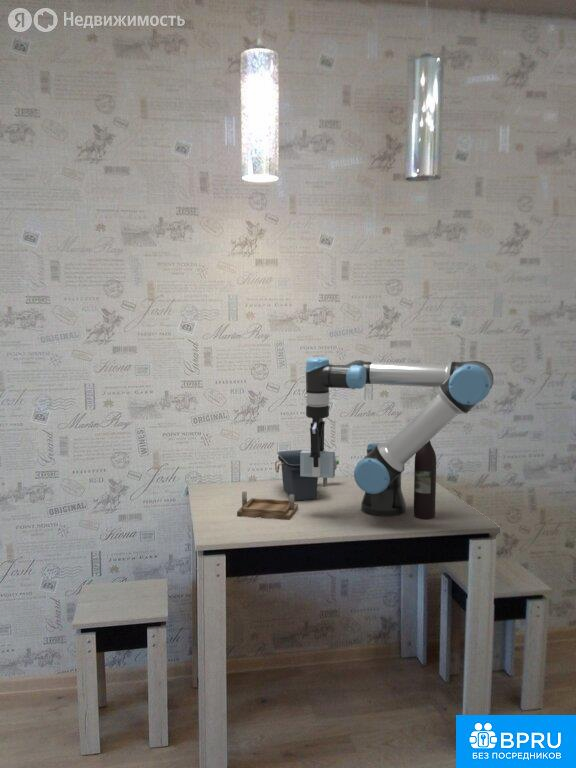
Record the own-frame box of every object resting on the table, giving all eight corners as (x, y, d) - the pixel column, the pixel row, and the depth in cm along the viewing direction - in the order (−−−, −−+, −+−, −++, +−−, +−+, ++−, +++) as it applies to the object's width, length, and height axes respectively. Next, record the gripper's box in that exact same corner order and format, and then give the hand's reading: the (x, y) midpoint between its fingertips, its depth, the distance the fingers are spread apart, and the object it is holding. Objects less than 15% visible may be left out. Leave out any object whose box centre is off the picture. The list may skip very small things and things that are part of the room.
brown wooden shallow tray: (298, 508, 259) (298, 490, 259) (289, 519, 247) (289, 500, 246) (247, 505, 264) (247, 487, 263) (236, 516, 251) (236, 497, 250)
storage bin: (325, 501, 268) (325, 462, 266) (283, 504, 264) (283, 464, 262) (309, 485, 288) (309, 449, 287) (269, 488, 285) (269, 451, 283)
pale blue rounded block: (334, 475, 250) (334, 451, 249) (332, 478, 247) (333, 454, 246) (302, 473, 253) (302, 450, 251) (300, 476, 249) (300, 452, 248)
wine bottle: (409, 514, 252) (411, 426, 248) (427, 512, 255) (429, 425, 251) (420, 520, 246) (422, 430, 242) (439, 518, 248) (441, 428, 244)
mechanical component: (311, 485, 289) (311, 460, 287) (337, 484, 290) (337, 458, 289) (312, 487, 286) (312, 461, 284) (339, 486, 288) (339, 460, 286)
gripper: (311, 400, 255) (311, 468, 258) (300, 408, 239) (301, 480, 242) (333, 401, 254) (333, 469, 257) (324, 409, 238) (324, 481, 241)
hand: (317, 474), depth 249 cm, fingers closed on pale blue rounded block, 4 cm apart
